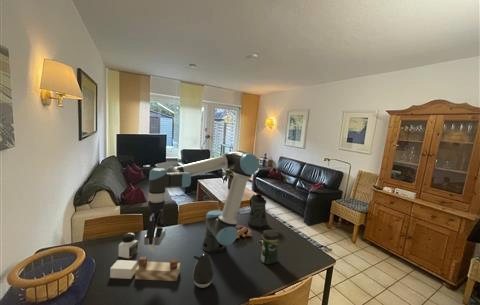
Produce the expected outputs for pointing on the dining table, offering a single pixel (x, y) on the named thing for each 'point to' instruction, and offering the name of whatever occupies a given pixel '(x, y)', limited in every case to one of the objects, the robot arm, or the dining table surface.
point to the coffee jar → (269, 246)
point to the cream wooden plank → (157, 270)
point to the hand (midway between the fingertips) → (154, 244)
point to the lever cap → (157, 236)
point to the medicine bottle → (128, 246)
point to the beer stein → (257, 212)
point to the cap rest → (123, 269)
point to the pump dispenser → (203, 271)
